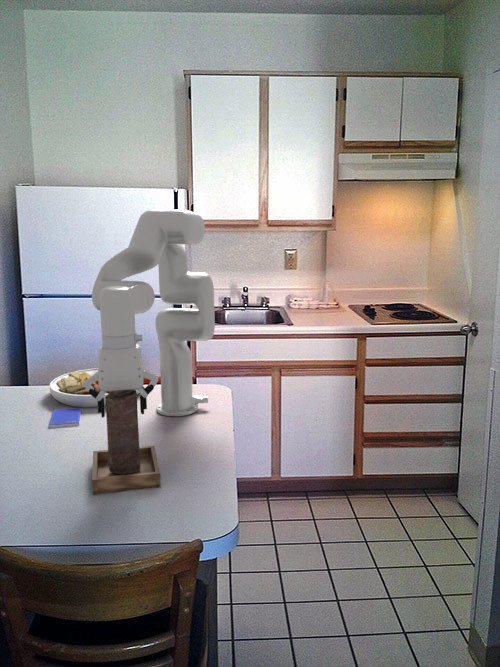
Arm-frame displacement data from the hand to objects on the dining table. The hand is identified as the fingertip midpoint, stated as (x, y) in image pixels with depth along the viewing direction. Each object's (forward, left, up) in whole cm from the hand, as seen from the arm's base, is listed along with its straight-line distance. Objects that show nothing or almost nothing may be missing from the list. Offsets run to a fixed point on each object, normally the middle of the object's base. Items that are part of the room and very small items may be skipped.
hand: (122, 413), depth 145 cm
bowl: (+7, -63, -16) cm, 65 cm away
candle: (0, 0, -15) cm, 15 cm away
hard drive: (+16, -42, -16) cm, 48 cm away
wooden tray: (0, 0, -15) cm, 15 cm away
